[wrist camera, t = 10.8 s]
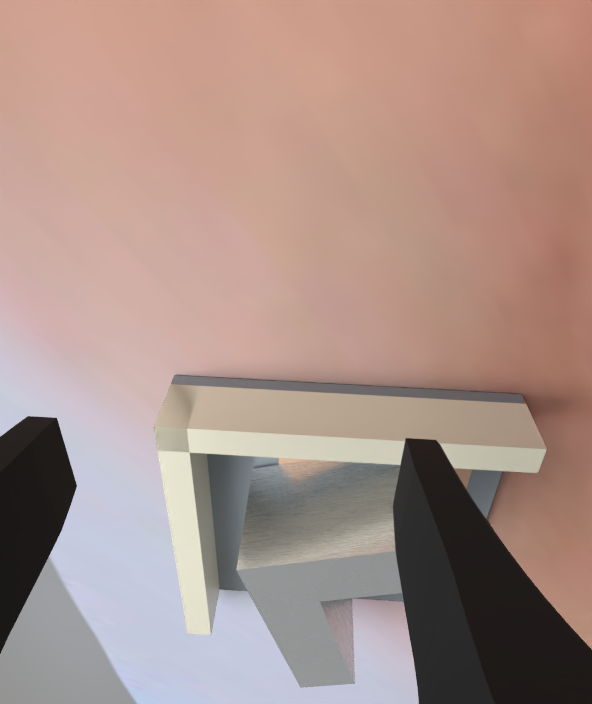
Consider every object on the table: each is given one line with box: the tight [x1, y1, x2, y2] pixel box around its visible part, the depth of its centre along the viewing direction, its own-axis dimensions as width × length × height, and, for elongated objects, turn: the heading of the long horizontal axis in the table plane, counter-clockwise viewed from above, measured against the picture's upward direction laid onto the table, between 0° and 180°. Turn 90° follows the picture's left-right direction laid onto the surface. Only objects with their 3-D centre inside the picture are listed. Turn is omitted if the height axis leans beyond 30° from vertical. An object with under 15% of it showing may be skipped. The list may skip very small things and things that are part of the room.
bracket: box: [236, 460, 402, 687], centre depth 24 cm, size 9×8×5 cm
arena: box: [154, 375, 547, 635], centre depth 25 cm, size 14×14×3 cm
